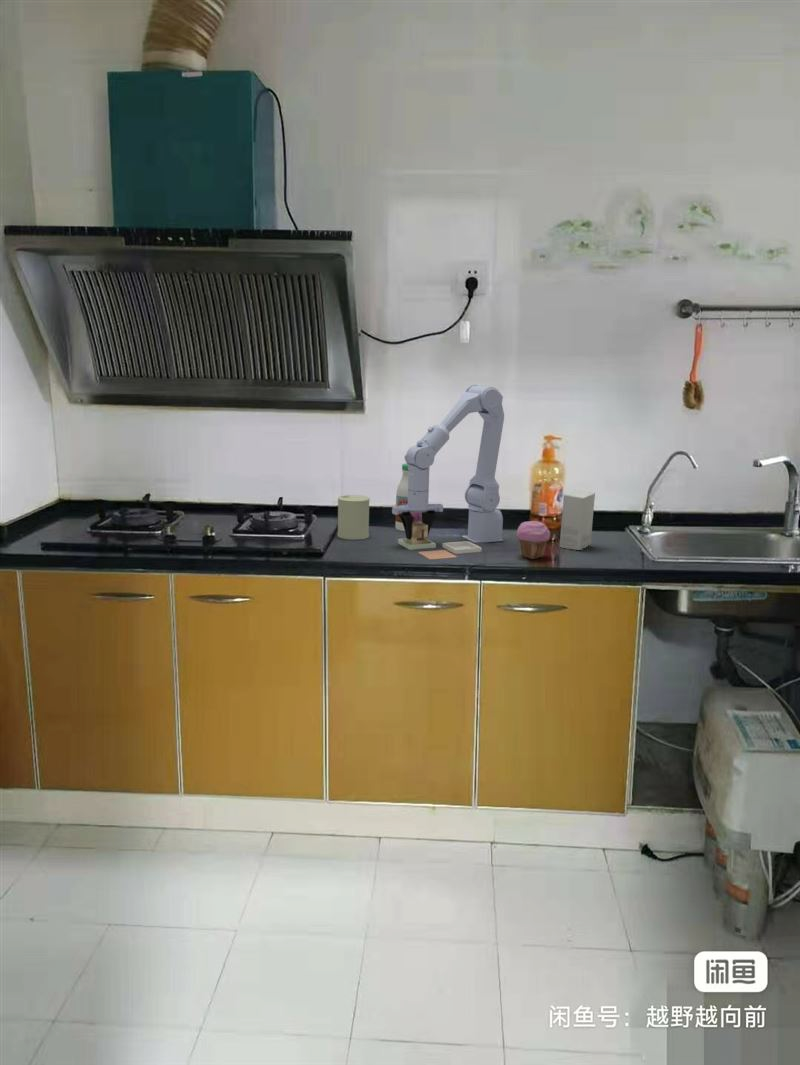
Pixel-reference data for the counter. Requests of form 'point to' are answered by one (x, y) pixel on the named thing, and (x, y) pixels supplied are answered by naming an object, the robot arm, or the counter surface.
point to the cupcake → (533, 538)
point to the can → (353, 517)
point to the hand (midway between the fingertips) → (416, 538)
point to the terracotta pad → (437, 554)
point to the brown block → (418, 534)
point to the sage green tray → (417, 546)
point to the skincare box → (577, 519)
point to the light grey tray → (461, 547)
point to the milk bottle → (404, 498)
